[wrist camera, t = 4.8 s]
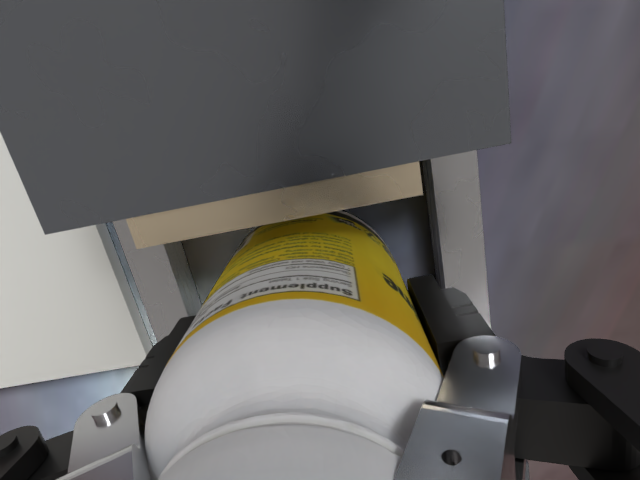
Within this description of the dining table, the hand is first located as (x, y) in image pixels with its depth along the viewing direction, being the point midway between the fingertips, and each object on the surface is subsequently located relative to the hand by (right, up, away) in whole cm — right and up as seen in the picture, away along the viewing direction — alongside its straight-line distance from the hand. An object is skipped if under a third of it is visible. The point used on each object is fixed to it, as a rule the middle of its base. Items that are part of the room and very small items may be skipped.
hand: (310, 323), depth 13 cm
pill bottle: (0, +1, +3) cm, 3 cm away
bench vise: (0, +1, +3) cm, 3 cm away
